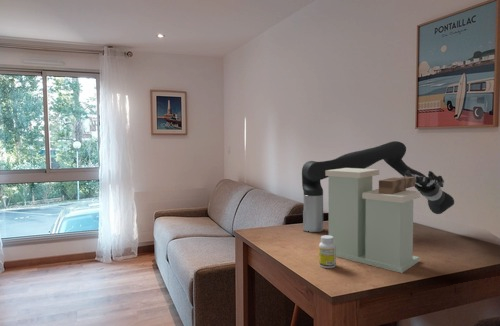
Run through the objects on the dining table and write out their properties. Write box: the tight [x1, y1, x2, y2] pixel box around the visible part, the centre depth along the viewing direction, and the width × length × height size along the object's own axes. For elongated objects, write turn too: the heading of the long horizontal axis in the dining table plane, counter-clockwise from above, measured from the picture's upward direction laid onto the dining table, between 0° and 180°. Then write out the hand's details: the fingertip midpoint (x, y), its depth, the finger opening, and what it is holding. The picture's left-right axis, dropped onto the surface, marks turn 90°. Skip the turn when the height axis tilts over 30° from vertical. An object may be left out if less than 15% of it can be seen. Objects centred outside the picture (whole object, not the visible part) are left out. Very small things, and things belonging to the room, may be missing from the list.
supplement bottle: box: [318, 234, 337, 269], centre depth 124 cm, size 6×6×10 cm
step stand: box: [325, 168, 421, 274], centre depth 131 cm, size 15×29×32 cm, turn 45°
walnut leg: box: [378, 176, 415, 194], centre depth 129 cm, size 22×4×4 cm, turn 135°
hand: (418, 172), depth 142 cm, fingers open, 8 cm apart
